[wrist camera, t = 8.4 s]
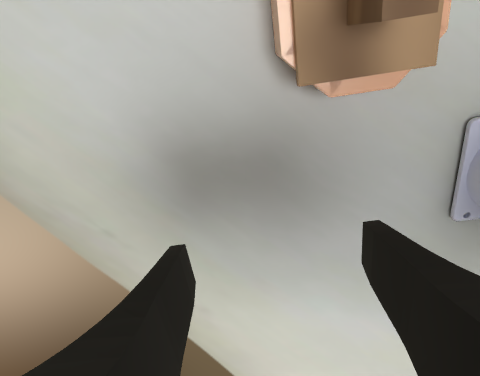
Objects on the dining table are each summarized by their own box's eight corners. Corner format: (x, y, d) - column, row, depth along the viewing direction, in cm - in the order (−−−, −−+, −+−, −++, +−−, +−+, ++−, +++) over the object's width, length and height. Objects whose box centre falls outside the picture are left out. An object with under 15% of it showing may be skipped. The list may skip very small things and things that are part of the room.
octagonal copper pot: (428, -99, 15) (468, -128, 13) (412, 74, 19) (440, 80, 16) (264, -68, 16) (269, -89, 13) (279, 95, 20) (285, 104, 17)
